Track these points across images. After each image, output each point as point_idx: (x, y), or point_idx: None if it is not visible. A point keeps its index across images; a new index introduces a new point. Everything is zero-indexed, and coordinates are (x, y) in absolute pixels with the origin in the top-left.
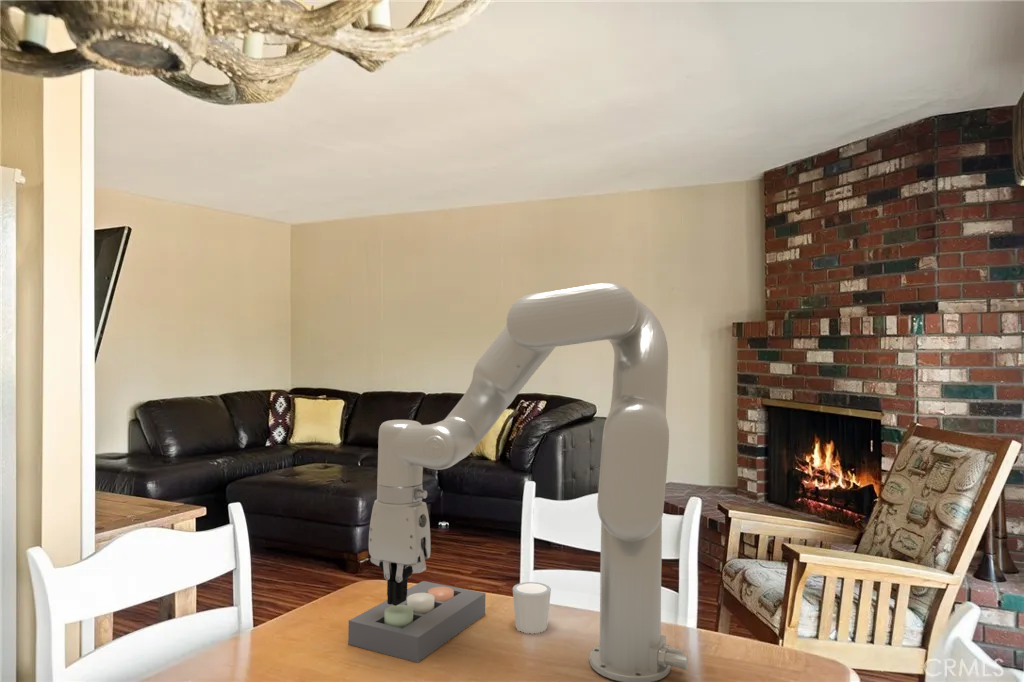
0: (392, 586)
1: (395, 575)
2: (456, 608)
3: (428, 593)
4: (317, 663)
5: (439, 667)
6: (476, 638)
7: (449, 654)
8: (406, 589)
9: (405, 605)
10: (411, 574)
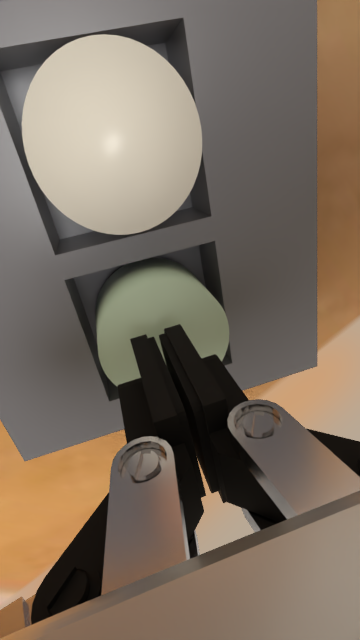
0: (205, 476)
1: (198, 493)
2: (290, 29)
3: (92, 37)
4: (83, 491)
5: (335, 306)
6: (338, 65)
7: (320, 235)
8: (229, 378)
9: (145, 290)
10: (322, 438)
